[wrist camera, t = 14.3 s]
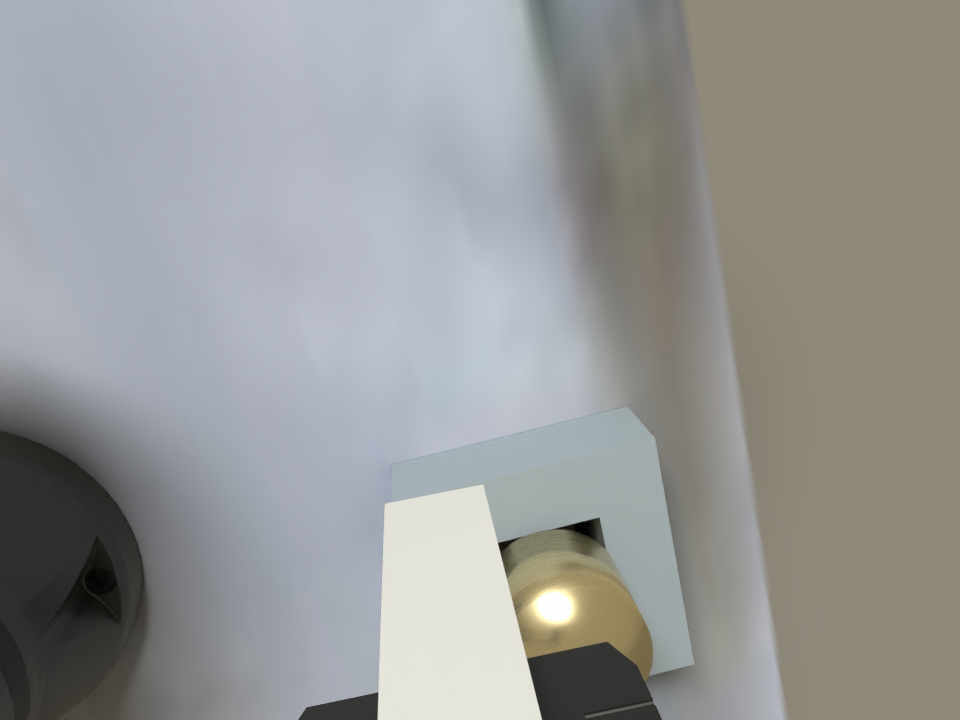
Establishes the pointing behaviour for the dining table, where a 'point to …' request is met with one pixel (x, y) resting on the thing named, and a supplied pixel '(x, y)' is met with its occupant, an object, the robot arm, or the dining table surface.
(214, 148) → the dining table surface
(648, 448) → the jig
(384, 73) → the dining table surface
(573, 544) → the gold cylinder
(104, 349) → the dining table surface
